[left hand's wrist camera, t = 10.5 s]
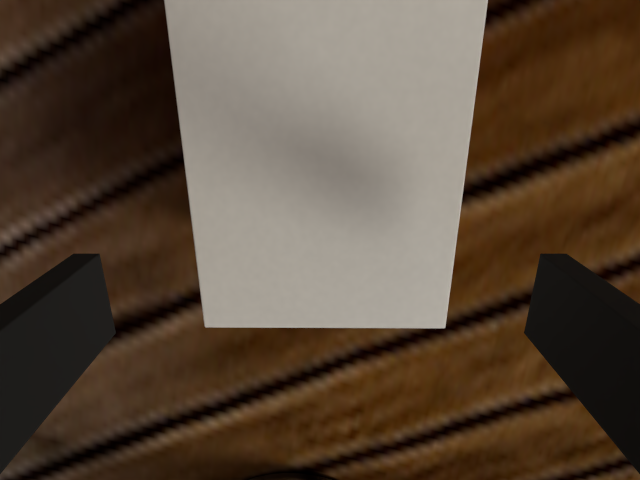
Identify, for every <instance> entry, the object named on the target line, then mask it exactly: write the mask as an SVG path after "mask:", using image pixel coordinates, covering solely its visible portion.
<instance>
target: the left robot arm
mask: <svg viewBox="0 0 640 480" xmlns="http://www.w3.org/2000/svg"><path fill="white" fill-rule="evenodd" d="M115 333H116V332H115V327H114V322H113V317H112V312H111V308H110V303H109V298H108V293H107V288H106V283H105V278H104V274H103V269H102V264H101V259H100V254H73V255H71V256H70V257H68V258H67V259H65V260H64V261H62V262H61V263H60V264H58V265H57V266H55V267H54V268H52V269H51V270H49V271H48V272H47V273H45V274H44V275H42V276H41V277H39V278H38V279H36V280H35V281H33V282H32V283H31V284H29V285H28V286H26V287H25V288H23V289H22V290H20V291H19V292H18V293H16V294H15V295H13V296H12V297H10V298H9V299H7V300H6V301H5V302H3V303H2V304H0V474H1V472H2V471H3V470H4V469H5V467H6V466H7V465H8V464H9V463H10V461H11V460H12V459H13V458H14V457H15V455H16V454H17V453H18V452H19V450H20V449H21V448H22V447H23V446H24V444H25V443H26V442H27V441H28V439H29V438H30V437H31V436H32V435H33V433H34V432H35V431H36V430H37V428H38V427H39V426H40V425H41V424H42V422H43V421H44V420H45V419H46V417H47V416H48V415H49V414H50V413H51V411H52V410H53V409H54V408H55V406H56V405H57V404H58V403H59V402H60V400H61V399H62V398H63V397H64V396H65V394H66V393H67V392H68V391H69V389H70V388H71V387H72V386H73V385H74V383H75V382H76V381H77V380H78V378H79V377H80V376H81V375H82V374H83V372H84V371H85V370H86V369H87V367H88V366H89V365H90V364H91V363H92V361H93V360H94V359H95V358H96V356H97V355H98V354H99V353H100V352H101V350H102V349H103V348H104V347H105V345H106V344H107V343H108V342H109V341H110V339H111V338H112V337H113V336H114V334H115ZM524 333H525V335H526V336H527V337H528V338H529V339H530V341H531V342H532V343H533V344H534V345H535V347H536V348H537V349H538V350H539V352H540V353H541V354H542V355H543V356H544V358H545V359H546V360H547V361H548V363H549V364H550V365H551V366H552V367H553V369H554V370H555V371H556V372H557V374H558V375H559V376H560V377H561V378H562V380H563V381H564V382H565V383H566V385H567V386H568V387H569V388H570V389H571V391H572V392H573V393H574V394H575V396H576V397H577V398H578V399H579V400H580V402H581V403H582V404H583V405H584V406H585V408H586V409H587V410H588V411H589V413H590V414H591V415H592V416H593V417H594V419H595V420H596V421H597V422H598V424H599V425H600V426H601V427H602V428H603V430H604V431H605V432H606V433H607V435H608V436H609V437H610V438H611V439H612V441H613V442H614V443H615V444H616V446H617V447H618V448H619V449H620V450H621V452H622V453H623V454H624V455H625V457H626V458H627V459H628V460H629V461H630V463H631V464H632V465H633V466H634V467H635V469H636V470H637V471H638V472H639V474H640V304H638V303H637V302H635V301H634V300H633V299H631V298H630V297H628V296H627V295H625V294H624V293H622V292H621V291H620V290H618V289H617V288H615V287H614V286H612V285H611V284H609V283H608V282H607V281H605V280H604V279H602V278H601V277H599V276H598V275H596V274H595V273H593V272H592V271H591V270H589V269H588V268H586V267H585V266H583V265H582V264H580V263H579V262H578V261H576V260H575V259H573V258H572V257H570V256H569V255H567V254H540V259H539V264H538V269H537V274H536V278H535V283H534V288H533V293H532V298H531V303H530V308H529V312H528V317H527V322H526V327H525V332H524ZM249 480H331V479H327V478H324V477H320V476H315V475H310V474H302V473H277V474H269V475H264V476H259V477H255V478H252V479H249Z"/></svg>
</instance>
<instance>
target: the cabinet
mask: <svg viewBox="0 0 640 480" xmlns="http://www.w3.org/2000/svg"><path fill="white" fill-rule="evenodd" d="M164 3H165V11H166V19H167V27H168V35H169V43H170V51H171V59H172V67H173V75H174V83H175V91H176V100H177V108H178V116H179V124H180V132H181V140H182V148H183V156H184V164H185V172H186V180H187V188H188V196H189V204H190V212H191V220H192V229H193V237H194V245H195V253H196V261H197V269H198V277H199V285H200V293H201V301H202V309H203V317H204V325H205V327H258V328H445V326H446V318H447V310H448V303H449V295H450V287H451V280H452V272H453V264H454V257H455V249H456V241H457V233H458V226H459V218H460V210H461V203H462V195H463V187H464V180H465V172H466V164H467V157H468V149H469V141H470V134H471V126H472V118H473V110H474V103H475V95H476V87H477V80H478V72H479V64H480V57H481V49H482V41H483V34H484V26H485V18H486V11H487V3H488V0H164Z"/></svg>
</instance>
